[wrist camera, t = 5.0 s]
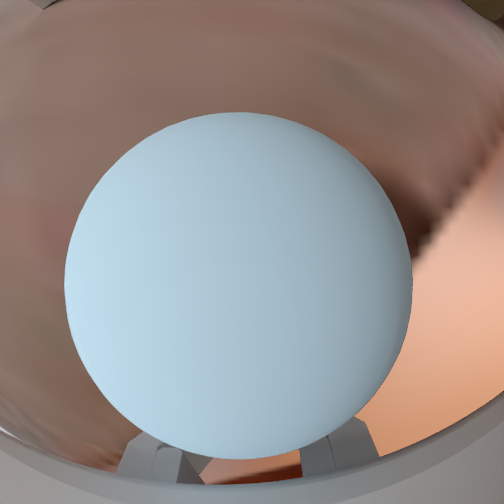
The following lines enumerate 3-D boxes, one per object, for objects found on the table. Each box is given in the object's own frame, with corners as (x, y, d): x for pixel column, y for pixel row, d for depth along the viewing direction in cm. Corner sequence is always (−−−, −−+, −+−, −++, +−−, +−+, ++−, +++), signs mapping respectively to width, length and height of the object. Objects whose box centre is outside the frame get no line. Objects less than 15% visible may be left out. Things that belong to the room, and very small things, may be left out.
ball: (130, 180, 8) (-41, 162, 2) (324, 138, 7) (450, 26, 1) (176, 358, 9) (107, 503, 3) (353, 327, 8) (449, 464, 2)
